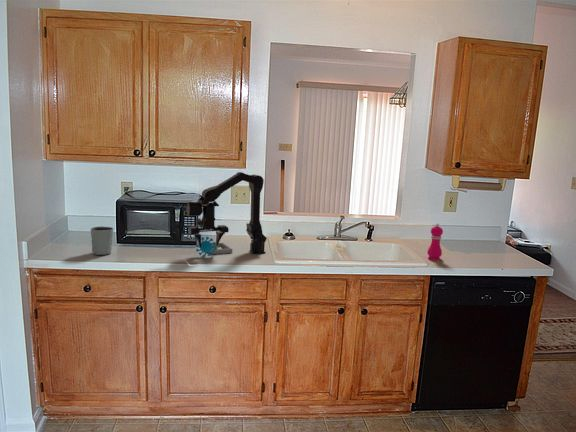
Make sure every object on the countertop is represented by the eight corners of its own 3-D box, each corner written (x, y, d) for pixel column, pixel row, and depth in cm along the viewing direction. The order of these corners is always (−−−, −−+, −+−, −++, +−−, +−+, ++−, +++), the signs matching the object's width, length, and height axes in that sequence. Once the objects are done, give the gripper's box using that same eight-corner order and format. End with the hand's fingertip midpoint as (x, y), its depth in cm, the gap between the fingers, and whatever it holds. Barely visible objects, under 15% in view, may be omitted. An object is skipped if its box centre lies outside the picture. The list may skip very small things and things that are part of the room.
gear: (193, 254, 233) (197, 235, 236) (195, 257, 239) (199, 237, 242) (216, 258, 233) (219, 238, 236) (217, 260, 239) (221, 240, 242)
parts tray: (223, 247, 258) (223, 242, 257) (232, 253, 245) (232, 248, 245) (203, 248, 253) (203, 243, 253) (212, 254, 240) (212, 249, 240)
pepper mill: (431, 263, 248) (435, 224, 244) (423, 259, 254) (427, 222, 251) (443, 262, 250) (447, 224, 247) (435, 259, 256) (439, 222, 253)
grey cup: (86, 252, 231) (86, 228, 229) (102, 249, 240) (102, 225, 238) (101, 256, 227) (101, 231, 225) (118, 252, 236) (117, 228, 234)
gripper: (221, 212, 244) (221, 242, 247) (185, 213, 236) (185, 244, 238) (229, 215, 234) (228, 247, 237) (191, 217, 226) (191, 249, 229)
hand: (208, 246), depth 235 cm, fingers open, 8 cm apart
